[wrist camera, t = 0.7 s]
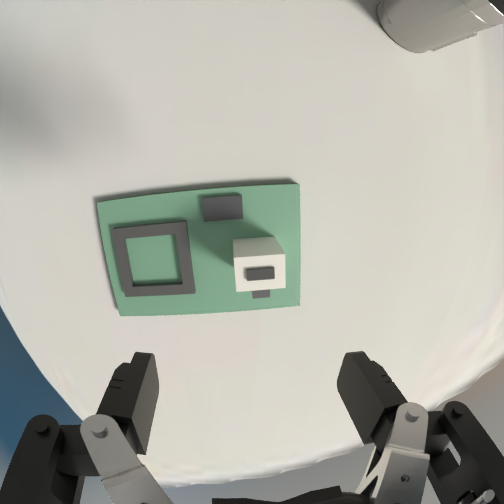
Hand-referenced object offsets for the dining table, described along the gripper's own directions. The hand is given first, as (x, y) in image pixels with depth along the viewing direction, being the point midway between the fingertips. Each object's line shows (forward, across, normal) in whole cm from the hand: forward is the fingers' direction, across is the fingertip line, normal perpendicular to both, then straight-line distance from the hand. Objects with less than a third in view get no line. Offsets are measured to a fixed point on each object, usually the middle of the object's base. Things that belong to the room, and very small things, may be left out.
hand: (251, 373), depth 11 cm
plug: (+20, -2, +1) cm, 20 cm away
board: (+21, +4, +1) cm, 21 cm away
